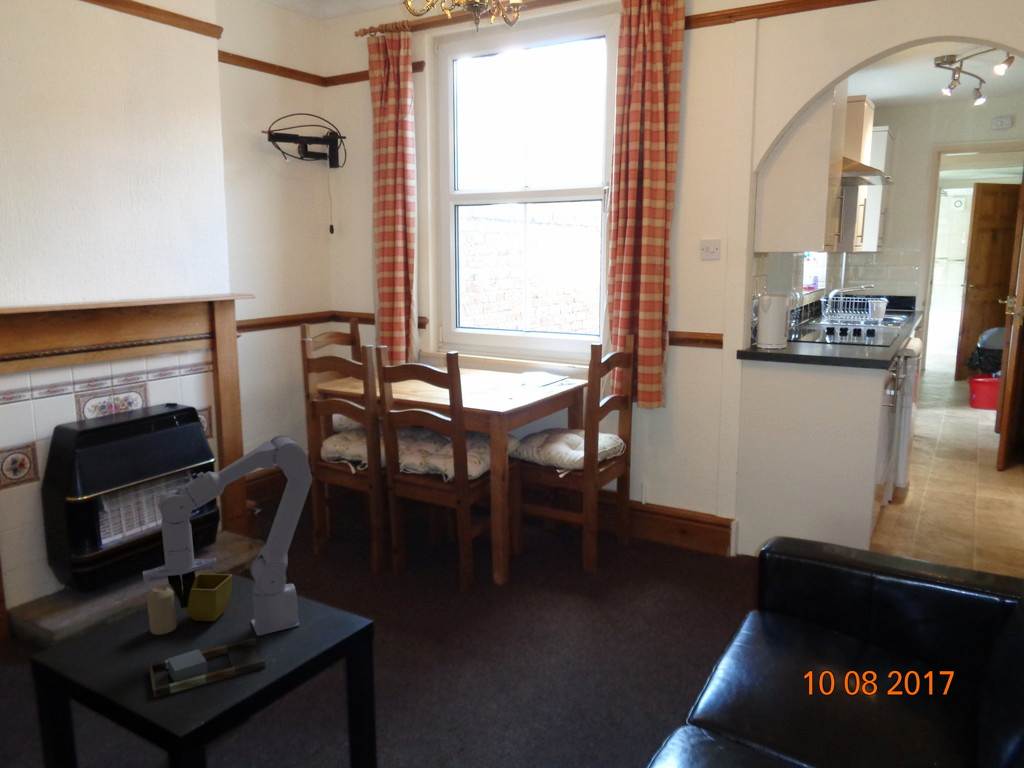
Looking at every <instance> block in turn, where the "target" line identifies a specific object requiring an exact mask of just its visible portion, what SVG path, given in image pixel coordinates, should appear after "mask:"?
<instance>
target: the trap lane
mask: <svg viewBox="0 0 1024 768" xmlns="http://www.w3.org/2000/svg"><path fill="white" fill-rule="evenodd" d="M255 647H257V642H256V637H252V638H248V639H244V640H241V641H237V642H233V643H229V644H225V645H221V646H217V647H212V648H209V649H205V650H202V651H200V650H199V651H200V652H201V654H202V655H203V657H204V658H205V660H208V659H211V658H215V657H218V656H219V657H220V656H223V655H227V656H228V659H229V662H230V666H231V667H228V668H223V669H221V670H216V671H213V672H208V674H205V675H201V676H197V677H193V678H190V679H186V680H182V681H178V682H175V683H174V682H172V683H170V682H169V676H168V673H167V672H168V671H167V670H169V666H168V659H165V660H161V661H158V662H154V663H149V664H148V667H149V674H150V681H151V688H152V693H153V694H152V695H153V698H154V699H155V698H158V697H162V696H166V695H170V694H173V693H177V692H178V693H179V692H181V691H184V690H188V689H191V688H196V687H199V686H203V685H206V684H210V683H213V682H217V681H221V680H224V679H228V678H233V677H236V676H239V675H243V674H247V673H251V672H255V671H259V670H262V669H266V661H265V658H262V659H260V658H259V655H258V653H257V650H256V649H255Z"/></svg>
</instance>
